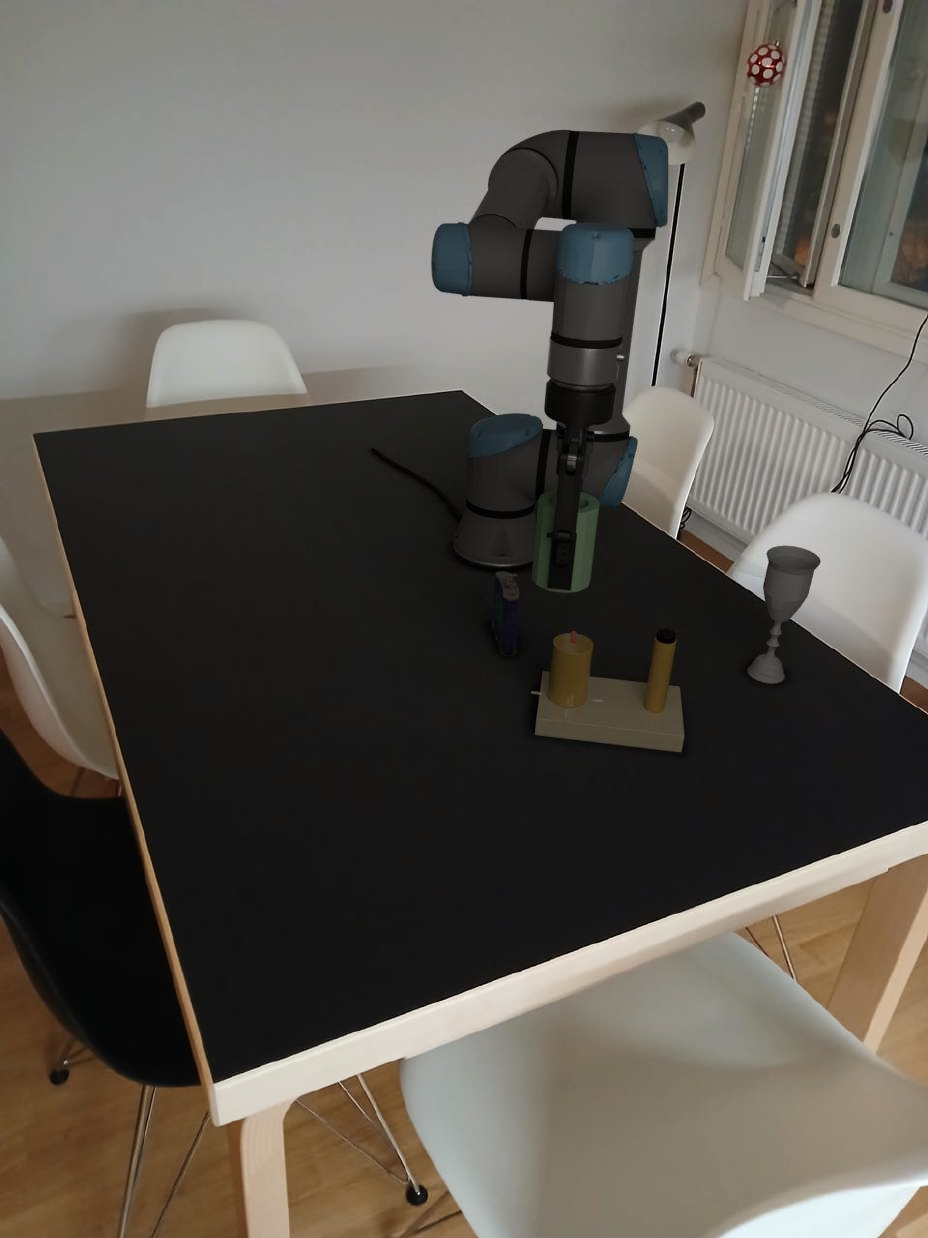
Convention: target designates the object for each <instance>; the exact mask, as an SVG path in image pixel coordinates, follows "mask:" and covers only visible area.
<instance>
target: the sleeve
mask: <svg viewBox="0 0 928 1238" xmlns="http://www.w3.org/2000/svg"><path fill="white" fill-rule="evenodd" d="M556 498H557V490H553V491H549V492H546V493H544V494H541V496H540V498H539V500H538V501H537V508H536V509H537V511H536V520H537V521H536V532H535V544H534V555H533V565H532V566H531V567H532V568H531V569H532V570H531V580H532V581H533V582H534V584H535V585H536V586H538V587H540V588H542V589H544V590H546V591H548V592H555V593H562V594H567V593H568V594H569V593H578V592H580V591H583V590H585V589H587V588H589V586H590V582H591V578H592V572H593V571H592V570H593V563H594V554H595V546H596V537H597V530H598V529H597V527H598V521H599V520H598V519H599V511H600V507H599V505H600V502H599V501H598V500H597V499H596V498H595V497H594V496H591V495H589V494H586V493H583V492H581V493H580V502H579V510H578V519H577V528H576V533H577V540H576V550H575V559H574V568H573V577H572V586H571V591H569V590H560V589H552V588H547V586H548V576H549V565H550V555H551V545H552V538H546V535H547V532H553V527H554V518H555V508H556Z"/></svg>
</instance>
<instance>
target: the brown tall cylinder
mask: <svg viewBox="0 0 928 1238" xmlns="http://www.w3.org/2000/svg"><path fill="white" fill-rule="evenodd" d="M676 645H677V633H676V631H674V630H672V629H668V628H660V629H658V630H657V631H656V635H655V637H654V641H653V645H652V646H653V647H652V653H651V659H650V664H649V665H650V666H649V671H648V677H647V682H646V683H647V689H646V695H645V701H644V708H645V709H646V710H647V711H649V712H652V713H661V712H663V711H664V709H665V703H666V698H667V692H668V686H669V685H670V680H671V676H672V669H673V663H674V658H675V652H676Z"/></svg>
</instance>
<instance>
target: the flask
mask: <svg viewBox="0 0 928 1238" xmlns="http://www.w3.org/2000/svg"><path fill="white" fill-rule="evenodd" d="M514 577H515V578H516V577H518V573H516V572H514V573H511V572H509V571H496V572H494V581H493V585H494V586H493V604H492V615H491V616H492V617H491V631H493V632H494V638H495V640H496V641H498V642H497V645H498V646H499V647H498V649H499V653H500V654H501V655H504V656H505V657H512V656H515V655H516V654H517V652H518V632H519V631H518V630H519V615H520V614H519V613H520V603H521V591H520V588H519V585H518V583H517V581H516V579H515V578H514Z"/></svg>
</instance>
